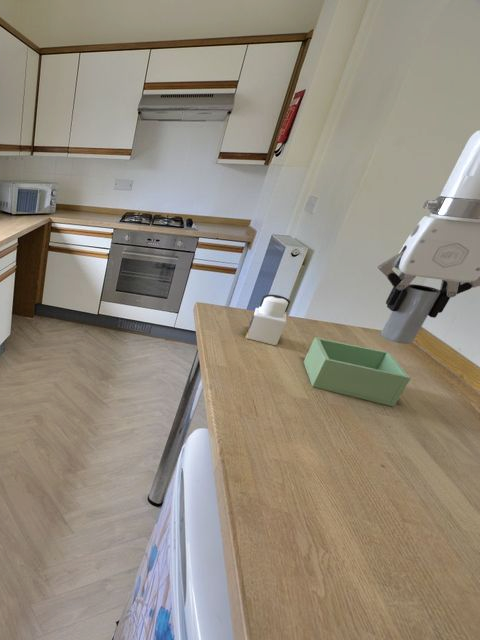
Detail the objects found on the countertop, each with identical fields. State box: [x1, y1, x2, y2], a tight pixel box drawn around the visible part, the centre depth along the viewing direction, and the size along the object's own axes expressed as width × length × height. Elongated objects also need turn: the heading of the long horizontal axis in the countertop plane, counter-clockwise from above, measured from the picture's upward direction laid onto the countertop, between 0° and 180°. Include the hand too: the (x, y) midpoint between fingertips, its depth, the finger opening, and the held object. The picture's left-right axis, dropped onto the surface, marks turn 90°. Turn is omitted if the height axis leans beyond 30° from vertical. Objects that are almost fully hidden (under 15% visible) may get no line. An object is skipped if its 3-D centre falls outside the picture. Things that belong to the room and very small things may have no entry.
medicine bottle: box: [245, 294, 291, 346], centre depth 110 cm, size 7×7×12 cm
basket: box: [303, 336, 412, 408], centre depth 90 cm, size 14×14×7 cm
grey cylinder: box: [380, 283, 441, 345], centre depth 76 cm, size 4×4×10 cm
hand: (410, 311), depth 76 cm, fingers closed on grey cylinder, 4 cm apart
